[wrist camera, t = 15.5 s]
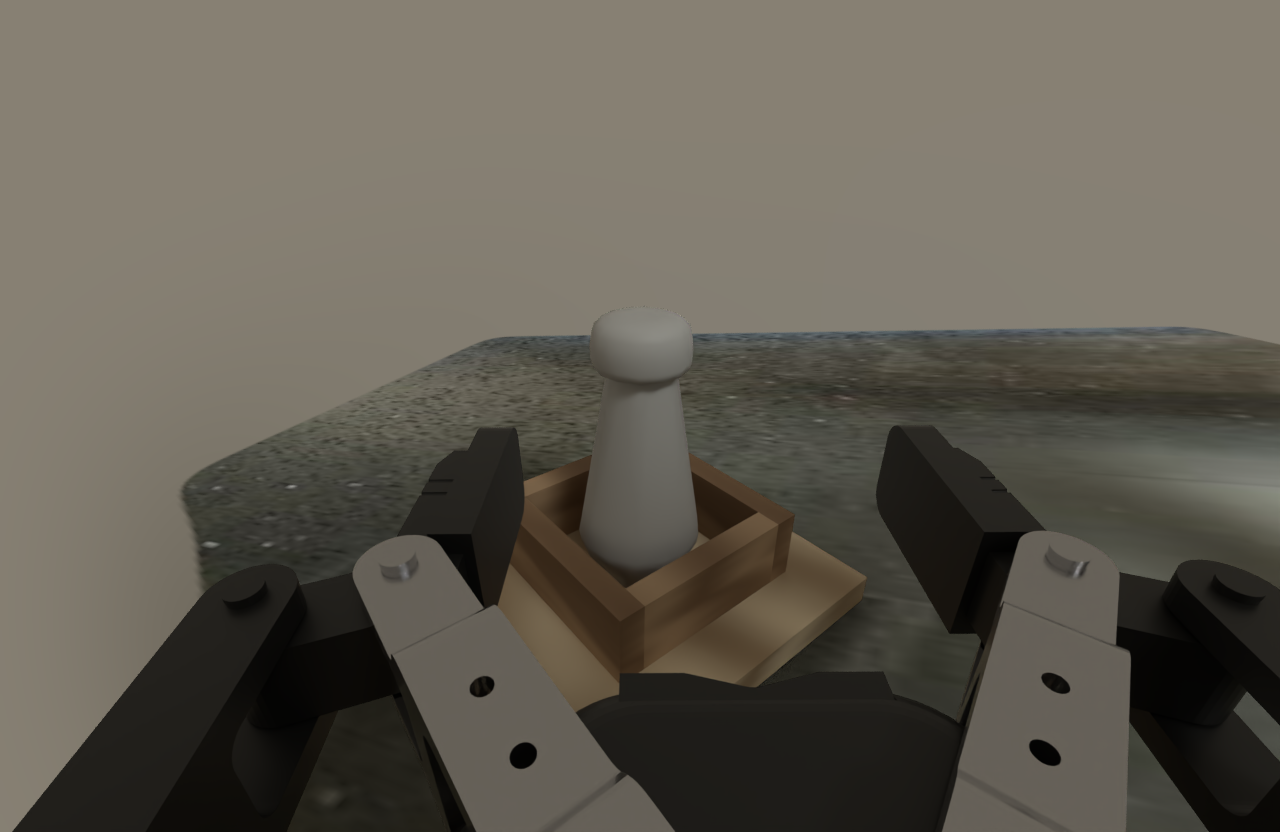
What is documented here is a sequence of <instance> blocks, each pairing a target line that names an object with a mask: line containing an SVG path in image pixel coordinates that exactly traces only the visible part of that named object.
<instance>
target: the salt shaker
mask: <svg viewBox="0 0 1280 832" xmlns="http://www.w3.org/2000/svg"><path fill="white" fill-rule="evenodd" d="M589 347H590V356H591V362H592V364H593V367H594V368H595V369H596V371H597V372H598V373H599V374H600V375H601V376H603V377H605V382H604V388H603V393H602V399H601V405H600V411H599V417H598V423H597V429H596V435H595V441H594V446H593V452H592V458H591V464H590V470H589V476H588V482H587V488H586V494H585V499H584V505H583V511H582V517H581V522H580V528H579V531H580V535H581V539H582V541H583V543H584V545H585V547H586V549H587V551H588V553H589V555H590V557H591V558H592V559H593V560H595V561H596V562H597V563H598V564H599V565H600V566H601V567H602V568H603V569H604V570H606V571H607V572H608V573H609V574H610V575H611V576H612V577H613V578H614V579H615V580H617V581H618V582H619V583H620V584H621V585H622V586H623V587H625V588H627V587H629V586H631V585H633V584H634V583H636V582H638V581H640V580H641V579H643V578H645V577H647V576H648V575H650V574H652V573H654V572H655V571H657V570H659V569H661V568H662V567H664V566H666V565H667V564H669V563H671V562H673V561H674V560H676V559H678V558H680V557H681V556H683V555H685V554H687V553H688V552H690V551H691V549H692V548H693V546H694V545H695V544H696V541H697V537H698V522H697V512H696V504H695V497H694V490H693V482H692V475H691V467H690V460H689V453H688V445H687V438H686V430H685V423H684V416H683V408H682V401H681V394H680V386H679V379H678V378H680V377H681V376H683V375H684V374H685V373H686V372H687V371H688V370H689V368H690V366H691V363H692V355H693V338H692V330H691V325H690V324H689V323H688V322H687V321H686V320H685V319H684V317H682V316H680V315H679V314H677V313H676V312H672V311H669V310H665V309H661V308H652V307H629V308H622V309H618V310H613V311H610V312H608V313H606V314H604V315H602V316H601V317H600V318H599V319H598V320H597V321H596V322H595V323H594V325H593V328H592V332H591V338H590V345H589Z"/></svg>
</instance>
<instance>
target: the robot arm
mask: <svg viewBox="0 0 1280 832" xmlns="http://www.w3.org/2000/svg"><path fill="white" fill-rule="evenodd" d="M876 498H877V506H878V510H879V513H880V515H881V517H882V519H883V520H884V522H885V524H886V525H887V527H888V529H889V531H890V532H891V534H892V536H893V537H894V539H895V541H896V543H897V544H898V546H899V548H900V549H901V551H902V553H903V555H904V556H905V558H906V560H907V562H908V563H909V565H910V567H911V568H912V570H913V572H914V574H915V575H916V577H917V579H918V580H919V582H920V584H921V586H922V587H923V589H924V591H925V592H926V594H927V596H928V598H929V599H930V601H931V603H932V604H933V606H934V608H935V610H936V611H937V613H938V615H939V616H940V618H941V620H942V622H943V623H944V625H945V627H946V629H947V630H948V632H949V634H977V635H978V636H979V638H980V639H981V642H980V644H979V647H978V649H977V652H976V655H975V658H974V661H973V665H972V668H971V671H970V674H969V678H968V681H967V684H966V687H965V691H964V694H963V697H962V700H961V704H960V707H959V710H958V713H957V717H956V720H954V719H952V718H951V717H949V716H947V715H945V714H943V713H941V712H939V711H937V710H936V709H934V708H931V707H929V706H927V705H924V704H922V703H920V702H917V701H914V700H911V699H908V698H905V697H902V696H898V695H894V694H892V691H891V689H890V687H889V684H888V682H887V679H886V677H885V675H884V672H816V673H813V674H809V675H805V676H801V677H797V678H793V679H789V680H785V681H781V682H777V683H773V684H769V685H765V686H761V687H746V686H742V685H737V684H733V683H728V682H724V681H719V680H715V679H710V678H706V677H701V676H696V675H692V674H687V673H620V679H619V694H618V695H615V696H611V697H607V698H604V699H602V700H599V701H597V702H594V703H592V704H590V705H588V706H586V707H584V708H582V709H580V710H578V711H577V712H575V711H574V710H573V709H572V707H571V706H570V704H569V703H568V702H567V700H566V699H565V698H564V696H563V695H562V693H561V692H560V691H559V689H558V688H557V687H556V685H555V684H554V682H553V681H552V680H551V678H550V677H549V676H548V674H547V673H546V671H545V670H544V669H543V667H542V666H541V665H540V663H539V662H538V660H537V659H536V658H535V656H534V655H533V654H532V652H531V651H530V649H529V648H528V647H527V645H526V644H525V643H524V641H523V640H522V638H521V637H520V636H519V634H518V633H517V632H516V630H515V629H514V627H513V626H512V625H511V623H510V622H509V621H508V619H507V618H506V616H505V615H504V614H503V612H502V611H501V610H500V609H499V608H498V603H499V600H500V596H501V592H502V589H503V585H504V582H505V578H506V575H507V571H508V567H509V564H510V560H511V557H512V553H513V550H514V546H515V542H516V539H517V535H518V532H519V528H520V525H521V521H522V517H523V513H524V502H525V492H524V482H523V473H522V465H521V457H520V449H519V441H518V435H517V431H516V429H515V428H479V429H478V431H477V433H476V435H475V437H474V439H473V441H472V443H471V445H470V447H469V449H468V451H453V452H452V453H451V454H449V455H448V456H447V457H446V458H444V459H443V460H442V461H441V462H439V463H438V464H437V465H436V467H435V469H434V471H433V472H432V474H431V476H430V478H429V482H428V483H426V485H425V487H424V489H423V490H422V495H421V496H419V498H418V499H417V501H416V503H415V505H414V507H413V508H412V510H411V512H410V514H409V516H408V517H407V519H406V521H405V523H404V525H403V526H402V528H401V530H400V532H399V534H398V535H397V537H395V538H392V539H389V540H386V541H384V542H381V543H379V544H377V545H376V546H374V547H372V548H371V549H369V550H368V551H367V552H365V553H364V554H363V555H362V556H361V557H360V559H359V560H358V561H357V563H356V565H355V566H354V570H353V572H352V573H349V574H346V575H342V576H339V577H334V578H330V579H325V580H321V581H317V582H312V583H308V584H304V585H300V584H299V581H298V578H297V576H296V573H295V572H294V571H293V570H292V569H290V568H289V567H286V566H283V565H277V564H267V565H259V566H254V567H250V568H247V569H244V570H241V571H239V572H236V573H234V574H232V575H230V576H228V577H226V578H224V579H222V580H221V581H219V582H218V583H216V584H215V585H213V586H212V587H211V588H209V589H208V590H207V591H206V592H205V593H204V594H203V595H202V596H201V597H200V598H199V600H198V601H197V602H196V604H195V605H194V606H193V607H192V608H191V610H190V611H189V612H188V613H187V615H186V616H185V617H184V618H183V620H182V621H181V622H180V623H179V625H178V626H177V627H176V628H175V630H174V631H173V632H172V633H171V635H170V636H169V637H168V638H167V640H166V641H165V642H164V643H163V645H162V646H161V647H160V648H159V650H158V651H157V652H156V653H155V655H154V656H153V657H152V658H151V660H150V661H149V662H148V663H147V665H146V666H145V667H144V668H143V670H142V671H141V672H140V673H139V674H138V676H137V677H136V678H135V679H134V681H133V682H132V683H131V684H130V686H129V687H128V688H127V689H126V691H125V692H124V693H123V694H122V696H121V697H120V698H119V699H118V701H117V702H116V703H115V704H114V706H113V707H112V708H111V709H110V711H109V712H108V713H107V714H106V716H105V717H104V718H103V719H102V721H101V722H100V723H99V724H98V726H97V727H96V728H95V729H94V731H93V732H92V733H91V734H90V736H89V737H88V738H87V739H86V741H85V742H84V743H83V744H82V746H81V747H80V748H79V749H78V751H77V752H76V753H75V754H74V756H73V757H72V758H71V759H70V760H69V762H68V763H67V764H66V766H65V767H64V768H63V769H62V770H61V772H60V773H59V774H58V775H57V777H56V778H55V779H54V781H53V782H52V783H51V784H50V785H49V787H48V788H47V789H46V790H45V792H44V793H43V794H42V795H41V797H40V798H39V799H38V800H37V802H36V803H35V804H34V805H33V807H32V808H31V809H30V810H29V812H28V813H27V814H26V815H25V817H24V818H23V819H22V820H21V822H20V823H19V824H18V825H17V827H16V828H15V829H14V830H13V832H286V831H287V829H288V827H289V824H290V822H291V820H292V817H293V815H294V813H295V810H296V808H297V806H298V803H299V801H300V798H301V796H302V794H303V791H304V789H305V787H306V784H307V782H308V780H309V777H310V775H311V773H312V770H313V768H314V766H315V763H316V761H317V759H318V756H319V754H320V752H321V749H322V747H323V745H324V742H325V740H326V738H327V735H328V733H329V731H330V728H331V726H332V724H333V721H334V719H335V717H336V714H337V712H338V710H342V709H345V708H348V707H352V706H355V705H359V704H362V703H366V702H369V701H372V700H376V699H379V698H383V697H386V696H391V698H392V701H393V703H394V705H395V708H396V710H397V712H398V714H399V717H400V719H401V721H402V724H403V726H404V728H405V731H406V733H407V735H408V737H409V740H410V742H411V744H412V747H413V749H414V751H415V754H416V756H417V758H418V760H419V763H420V765H421V767H422V770H423V772H424V774H425V777H426V779H427V782H428V784H429V787H430V789H431V792H432V795H433V797H434V800H435V803H436V806H437V808H438V811H439V814H440V816H441V819H442V821H443V824H444V826H445V829H446V831H447V832H1126V807H1127V773H1128V738H1129V722H1130V723H1131V725H1132V726H1133V727H1134V729H1135V730H1136V732H1137V733H1138V734H1139V736H1140V737H1141V738H1142V740H1143V741H1144V743H1145V744H1146V745H1147V747H1148V748H1149V749H1150V751H1151V752H1152V754H1153V755H1154V756H1155V758H1156V759H1157V761H1158V762H1159V763H1160V765H1161V766H1162V767H1163V769H1164V770H1165V772H1166V773H1167V774H1168V776H1169V777H1170V779H1171V780H1172V781H1173V783H1174V784H1175V785H1176V787H1177V788H1178V790H1179V791H1180V792H1181V794H1182V795H1183V796H1184V798H1185V799H1186V801H1187V802H1188V803H1189V805H1190V806H1191V808H1192V809H1193V810H1194V812H1195V813H1196V814H1197V816H1198V817H1199V819H1200V820H1201V821H1202V823H1203V824H1204V826H1205V827H1206V828H1207V830H1208V831H1209V832H1280V761H1279V760H1278V759H1277V758H1276V757H1275V756H1274V755H1273V754H1272V753H1271V751H1270V750H1269V749H1268V748H1267V747H1266V746H1265V745H1264V744H1263V743H1262V742H1261V740H1260V739H1259V738H1258V737H1257V736H1256V735H1255V734H1254V733H1253V732H1252V730H1251V729H1250V728H1249V727H1248V726H1247V725H1246V724H1245V723H1244V722H1243V721H1242V719H1241V718H1240V717H1239V716H1238V715H1237V714H1236V713H1235V712H1234V711H1233V710H1234V708H1235V707H1236V705H1237V704H1238V703H1239V701H1240V700H1241V699H1242V697H1243V696H1244V695H1245V693H1246V692H1248V693H1249V694H1250V695H1251V696H1252V697H1253V698H1254V699H1255V700H1256V701H1257V702H1258V703H1259V704H1260V705H1261V706H1262V707H1263V708H1264V709H1265V710H1266V711H1267V712H1268V713H1269V714H1270V715H1271V717H1272V718H1273V719H1274V720H1275V721H1276V722H1277V723H1278V724H1279V725H1280V590H1279V589H1278V588H1277V587H1275V586H1273V585H1272V584H1270V583H1269V582H1267V581H1265V580H1263V579H1261V578H1260V577H1258V576H1256V575H1253V574H1251V573H1249V572H1247V571H1244V570H1242V569H1239V568H1236V567H1233V566H1230V565H1227V564H1223V563H1219V562H1214V561H1208V560H1190V561H1186V562H1183V563H1181V564H1180V565H1179V566H1178V568H1177V570H1176V571H1175V573H1174V575H1173V577H1172V578H1171V580H1170V582H1166V581H1161V580H1156V579H1150V578H1145V577H1140V576H1135V575H1130V574H1125V573H1121V572H1119V570H1118V568H1117V566H1116V565H1115V563H1114V562H1113V561H1112V560H1111V559H1110V558H1109V557H1108V556H1107V555H1106V554H1105V553H1103V552H1102V551H1101V550H1099V549H1098V548H1096V547H1095V546H1093V545H1091V544H1089V543H1087V542H1085V541H1083V540H1081V539H1078V538H1076V537H1073V536H1070V535H1066V534H1063V533H1058V532H1052V531H1046V530H1045V529H1044V528H1043V527H1042V526H1041V525H1040V523H1039V522H1038V521H1037V520H1036V519H1035V518H1034V517H1033V516H1032V515H1031V514H1030V513H1029V512H1028V511H1027V510H1026V509H1025V508H1024V507H1023V505H1022V504H1021V503H1020V502H1019V501H1018V500H1017V499H1016V498H1015V497H1014V496H1013V495H1012V494H1011V493H1007V489H1006V488H1005V486H1004V485H1003V484H1002V483H1001V482H1000V481H999V480H995V476H994V475H993V474H992V473H991V472H990V471H989V470H988V469H987V467H986V466H985V465H984V464H983V463H982V462H981V461H979V460H978V459H976V458H974V457H973V456H971V455H969V454H967V453H966V452H964V451H962V450H961V449H959V448H953V447H952V446H951V445H950V444H949V443H948V442H947V440H946V439H945V438H944V437H943V436H942V435H941V434H940V433H939V432H938V430H937V429H936V428H935V427H933V426H930V425H910V426H894V427H892V429H891V430H890V432H889V435H888V439H887V443H886V448H885V452H884V457H883V461H882V466H881V470H880V475H879V479H878V484H877V490H876Z"/></svg>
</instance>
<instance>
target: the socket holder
mask: <svg viewBox="0 0 1280 832" xmlns="http://www.w3.org/2000/svg"><path fill="white" fill-rule="evenodd" d="M688 453H689V452H688ZM591 458H592V455H590V456H587V457H585V458H582V459H580V460H577V461H575V462H572V463H570V464H567V465H565V466H562V467H560V468H557V469H554V470H552V471H549V472H547V473H544V474H542V475H539V476H537V477H534V478H532V479H529V480H527V481H524V492H525V502H524V513H523V517H522V521H521V525H520V528H519V532H518V535H517V539H516V542H515V546H514V550H513V553H512V557H511V560H510V564H509V567H508V571H507V575H506V578H505V582H504V585H503V589H502V592H501V596H500V600H499V603H498V608H499V609H500V610H501V611H502V612H503V614H504V615H505V616H506V618H507V619H508V621H509V622H510V623H511V625H512V626H513V627H514V629H515V630H516V632H517V633H518V634H519V636H520V637H521V638H522V640H523V641H524V643H525V644H526V645H527V647H528V648H529V649H530V651H531V652H532V654H533V655H534V656H535V658H536V659H537V660H538V662H539V663H540V665H541V666H542V667H543V669H544V670H545V671H546V673H547V674H548V676H549V677H550V678H551V680H552V681H553V682H554V684H555V685H556V687H557V688H558V689H559V691H560V692H561V693H562V695H563V696H564V698H565V699H566V700H567V702H568V703H569V704H570V706H571V707H572V709H573V710H574V711H575V712H577V711H578V710H580V709H582V708H584V707H586V706H588V705H590V704H592V703H594V702H597V701H599V700H602V699H604V698H607V697H611V696H615V695H618V694H619V679H620V673H687V674H692V675H696V676H701V677H706V678H710V679H715V680H719V681H724V682H728V683H733V684H737V685H742V686H746V687H758V686H759V685H760V684H761V683H762V682H764V681H765V680H766V679H767V678H768V677H770V676H771V675H772V674H773V673H774V672H776V671H777V670H778V669H779V668H780V667H782V666H783V665H784V664H785V663H786V662H788V661H789V660H790V659H791V658H793V657H794V656H795V655H796V654H797V653H799V652H800V651H801V650H802V649H803V648H805V647H806V646H807V645H808V644H809V643H811V642H812V641H813V640H814V639H815V638H817V637H818V636H819V635H820V634H821V633H823V632H824V631H825V630H826V629H827V628H829V627H830V626H831V625H832V624H834V623H835V622H836V621H837V620H838V619H840V618H841V617H842V616H843V615H844V614H846V613H847V612H848V611H849V610H850V609H852V608H853V607H854V606H855V605H856V604H858V603H859V602H860V601H861V600H862V597H863V593H864V589H865V585H866V581H867V577H866V576H864V575H862V574H861V573H859V572H857V571H856V570H854V569H853V568H851V567H849V566H848V565H846V564H844V563H843V562H841V561H839V560H838V559H836V558H835V557H833V556H831V555H830V554H828V553H826V552H825V551H823V550H821V549H820V548H818V547H817V546H815V545H813V544H812V543H810V542H808V541H807V540H805V539H803V538H802V537H800V536H799V535H797V534H795V533H794V532H792V529H793V523H794V517H795V514H793V513H791V512H790V511H788V510H786V509H784V508H783V507H781V506H779V505H778V504H776V503H774V502H772V501H771V500H769V499H767V498H766V497H764V496H762V495H760V494H759V493H757V492H755V491H754V490H752V489H750V488H748V487H747V486H745V485H743V484H742V483H740V482H738V481H736V480H735V479H733V478H731V477H730V476H728V475H726V474H724V473H723V472H721V471H719V470H718V469H716V468H714V467H712V466H711V465H709V464H707V463H706V462H704V461H702V460H700V459H699V458H697V457H695V456H694V455H692V454H690V453H689V460H690V467H691V475H692V482H693V490H694V497H695V504H696V512H697V522H698V537H697V541H696V544H695V545H694V546H693V548H692V549H691V551H690V552H688V553H687V554H685V555H683V556H681V557H680V558H678V559H676V560H674V561H673V562H671V563H669V564H667V565H666V566H664V567H662V568H661V569H659V570H657V571H655V572H654V573H652V574H650V575H648V576H647V577H645V578H643V579H641V580H640V581H638V582H636V583H634V584H633V585H631V586H629V587H627V588H625V587H623V586H622V585H621V584H620V583H619V582H618V581H617V580H615V579H614V578H613V577H612V576H611V575H610V574H609V573H608V572H607V571H606V570H604V569H603V568H602V567H601V566H600V565H599V564H598V563H597V562H596V561H595V560H593V559H592V558H591V557H590V555H589V553H588V551H587V549H586V547H585V545H584V543H583V541H582V539H581V535H580V531H579V528H580V522H581V517H582V511H583V505H584V499H585V494H586V488H587V482H588V476H589V470H590V464H591Z"/></svg>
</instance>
